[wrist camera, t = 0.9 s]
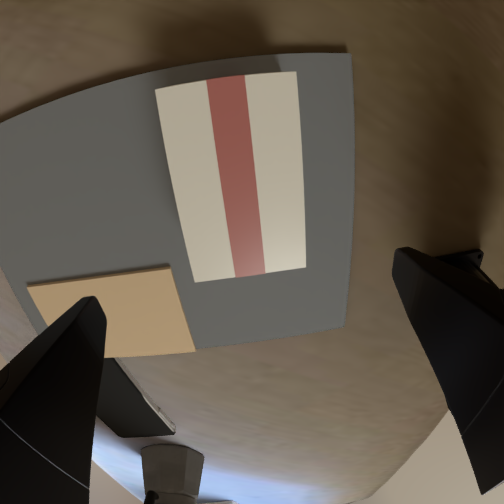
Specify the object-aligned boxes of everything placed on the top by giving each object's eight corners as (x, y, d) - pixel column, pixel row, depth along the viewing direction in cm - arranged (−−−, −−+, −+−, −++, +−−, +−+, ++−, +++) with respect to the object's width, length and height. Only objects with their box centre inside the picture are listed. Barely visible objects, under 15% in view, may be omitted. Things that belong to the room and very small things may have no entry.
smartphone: (111, 352, 25) (178, 434, 32) (114, 342, 26) (178, 426, 33) (44, 361, 25) (119, 438, 33) (48, 352, 26) (120, 430, 34)
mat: (347, 53, 15) (353, 53, 14) (342, 322, 26) (345, 329, 25) (-39, 144, 15) (-46, 147, 14) (54, 352, 25) (51, 358, 24)
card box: (167, 85, 15) (154, 89, 12) (281, 71, 15) (296, 71, 12) (198, 249, 20) (194, 283, 17) (293, 236, 20) (306, 267, 17)
